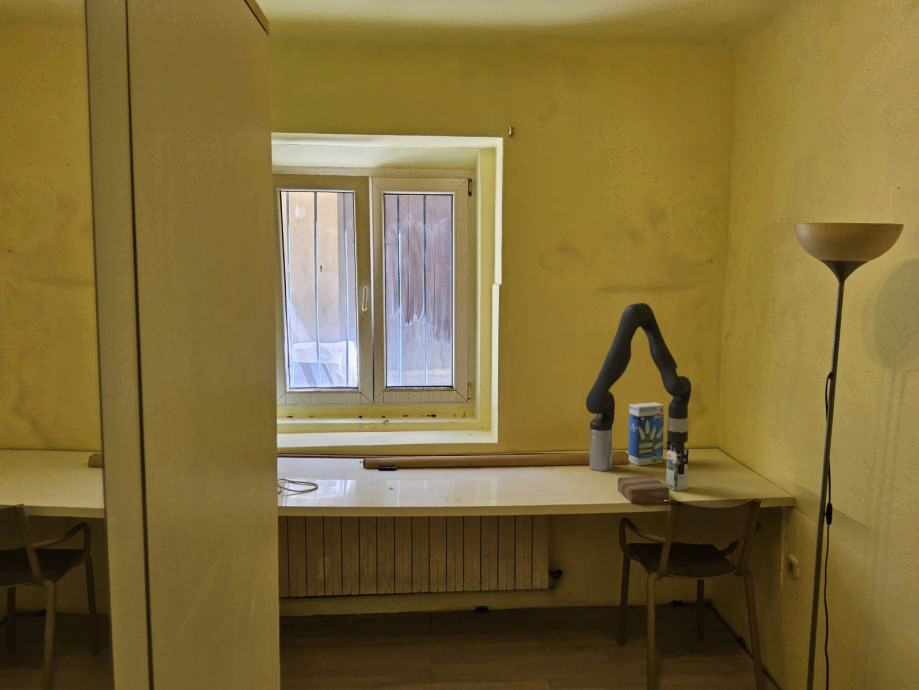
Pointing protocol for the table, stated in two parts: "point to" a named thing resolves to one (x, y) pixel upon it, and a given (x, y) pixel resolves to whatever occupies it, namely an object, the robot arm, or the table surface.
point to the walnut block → (643, 489)
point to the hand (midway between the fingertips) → (676, 471)
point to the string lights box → (646, 433)
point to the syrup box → (675, 473)
